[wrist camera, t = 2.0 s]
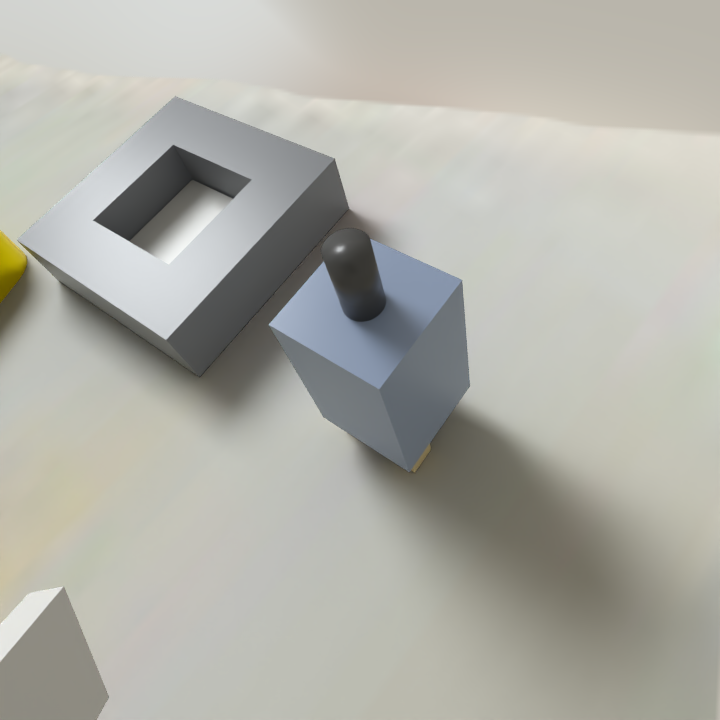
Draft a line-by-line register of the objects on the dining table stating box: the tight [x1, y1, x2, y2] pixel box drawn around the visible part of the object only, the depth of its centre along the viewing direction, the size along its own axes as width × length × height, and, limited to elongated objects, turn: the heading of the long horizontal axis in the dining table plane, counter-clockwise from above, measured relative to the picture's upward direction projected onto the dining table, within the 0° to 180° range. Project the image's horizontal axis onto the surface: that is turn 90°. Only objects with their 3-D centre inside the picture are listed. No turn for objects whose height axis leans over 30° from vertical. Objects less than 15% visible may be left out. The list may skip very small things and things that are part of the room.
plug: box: [269, 228, 470, 473], centre depth 24 cm, size 5×5×13 cm
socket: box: [17, 96, 349, 377], centre depth 37 cm, size 14×14×4 cm
